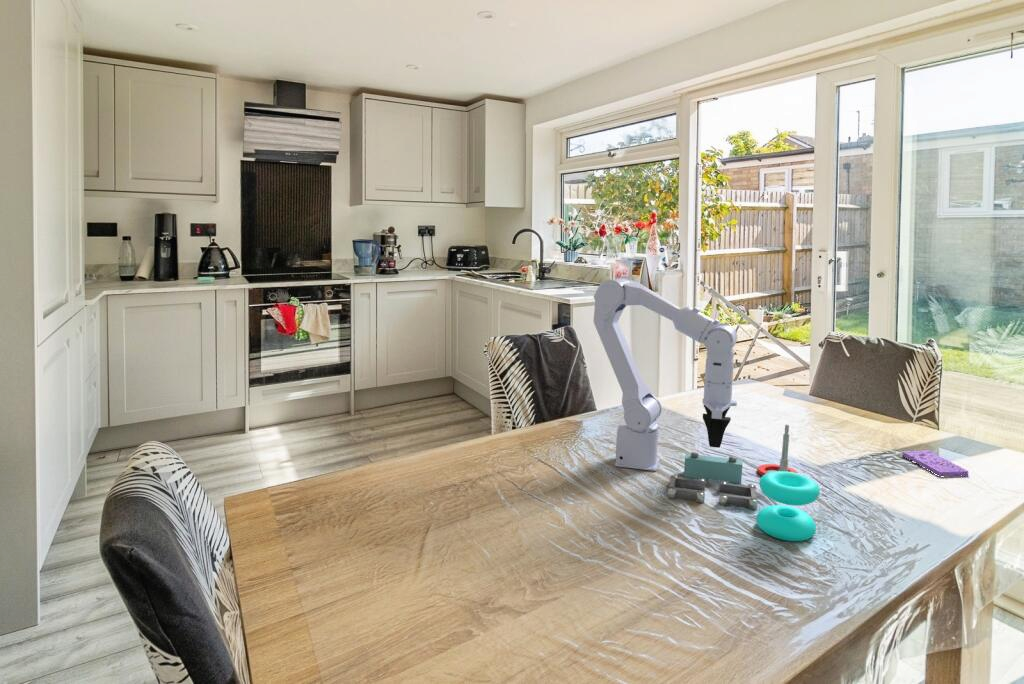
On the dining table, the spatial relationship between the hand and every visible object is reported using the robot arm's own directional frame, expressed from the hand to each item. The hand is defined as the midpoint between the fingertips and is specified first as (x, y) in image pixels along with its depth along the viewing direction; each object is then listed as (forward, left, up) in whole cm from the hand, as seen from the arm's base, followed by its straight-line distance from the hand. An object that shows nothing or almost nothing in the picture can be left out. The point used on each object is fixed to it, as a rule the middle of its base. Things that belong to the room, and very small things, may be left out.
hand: (714, 440), depth 135 cm
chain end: (-5, -10, -8) cm, 14 cm away
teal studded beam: (0, 0, -9) cm, 9 cm away
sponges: (+49, +23, -9) cm, 55 cm away
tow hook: (+14, +6, -9) cm, 18 cm away
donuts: (+13, -21, -9) cm, 26 cm away
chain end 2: (+5, -10, -8) cm, 14 cm away
